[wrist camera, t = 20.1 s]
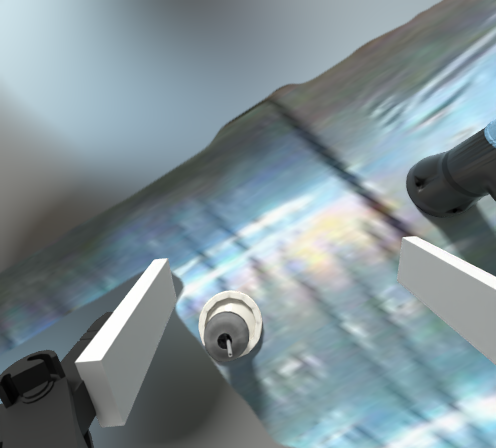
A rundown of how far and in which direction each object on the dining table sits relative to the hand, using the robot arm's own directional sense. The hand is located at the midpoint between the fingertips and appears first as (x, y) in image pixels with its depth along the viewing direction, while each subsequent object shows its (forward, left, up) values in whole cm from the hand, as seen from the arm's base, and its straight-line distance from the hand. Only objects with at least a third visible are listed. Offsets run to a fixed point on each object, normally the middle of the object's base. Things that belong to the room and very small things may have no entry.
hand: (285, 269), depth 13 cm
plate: (-2, +10, -39) cm, 41 cm away
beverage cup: (-2, +10, -39) cm, 40 cm away
